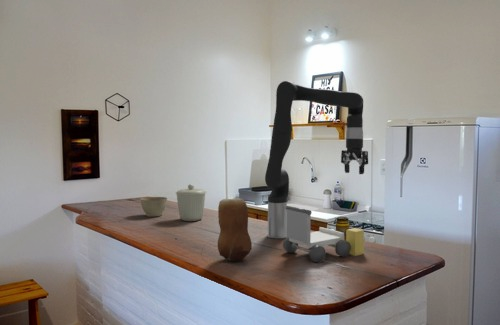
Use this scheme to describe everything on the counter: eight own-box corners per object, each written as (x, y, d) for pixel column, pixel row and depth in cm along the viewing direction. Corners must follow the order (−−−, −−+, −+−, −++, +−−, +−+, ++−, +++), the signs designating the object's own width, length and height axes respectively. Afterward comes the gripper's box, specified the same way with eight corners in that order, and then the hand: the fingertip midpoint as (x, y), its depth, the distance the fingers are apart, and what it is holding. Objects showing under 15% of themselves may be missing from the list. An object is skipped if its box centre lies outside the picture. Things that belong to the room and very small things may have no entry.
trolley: (312, 264, 167) (312, 211, 166) (281, 253, 183) (281, 205, 182) (350, 255, 179) (351, 206, 177) (318, 245, 195) (319, 200, 193)
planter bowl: (172, 214, 274) (172, 197, 273) (154, 219, 260) (154, 201, 260) (154, 212, 282) (153, 195, 282) (135, 216, 269) (135, 199, 268)
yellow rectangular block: (355, 255, 178) (355, 231, 178) (346, 253, 183) (346, 229, 182) (363, 253, 181) (363, 230, 180) (354, 251, 185) (354, 228, 185)
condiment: (347, 246, 194) (347, 219, 193) (329, 244, 198) (329, 218, 197) (351, 242, 200) (352, 217, 199) (334, 240, 204) (334, 215, 204)
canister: (172, 218, 262) (171, 183, 261) (201, 215, 270) (200, 182, 268) (180, 223, 246) (180, 186, 244) (210, 221, 253) (210, 185, 252)
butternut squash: (233, 253, 182) (232, 194, 181) (258, 259, 174) (258, 197, 172) (210, 261, 172) (209, 198, 170) (235, 267, 163) (234, 201, 162)
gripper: (337, 137, 200) (337, 172, 201) (360, 137, 188) (360, 175, 189) (348, 137, 204) (348, 172, 205) (372, 137, 192) (372, 174, 193)
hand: (354, 173), depth 197 cm, fingers open, 8 cm apart
